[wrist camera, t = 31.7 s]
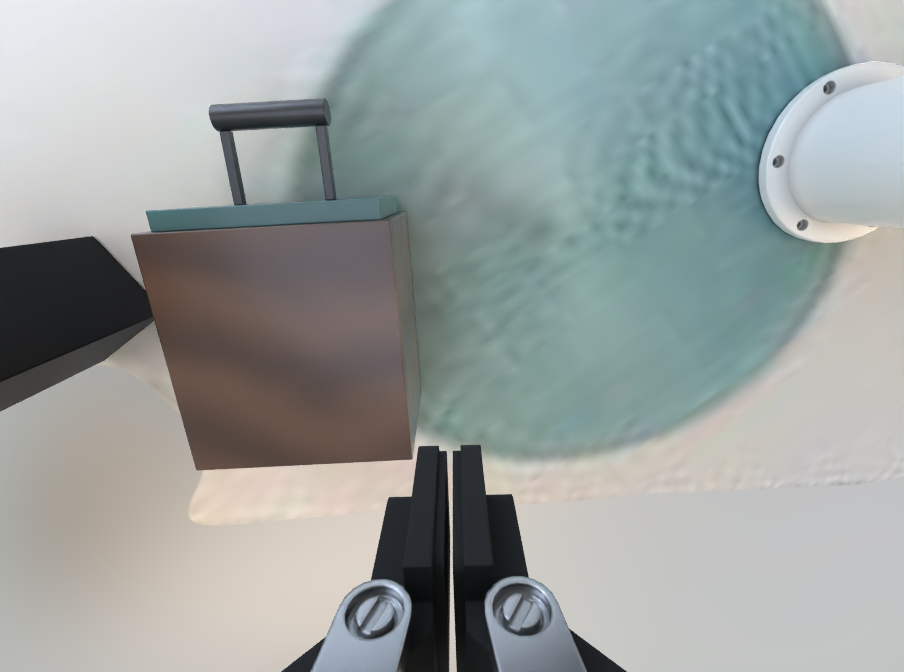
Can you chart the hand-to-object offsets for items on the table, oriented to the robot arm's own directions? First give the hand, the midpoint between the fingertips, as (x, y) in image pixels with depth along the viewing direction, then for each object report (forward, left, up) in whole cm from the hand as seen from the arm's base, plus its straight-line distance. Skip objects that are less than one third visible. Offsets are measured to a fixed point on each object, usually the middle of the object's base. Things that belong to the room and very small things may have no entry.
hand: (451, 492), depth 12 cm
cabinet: (+10, +2, -26) cm, 28 cm away
